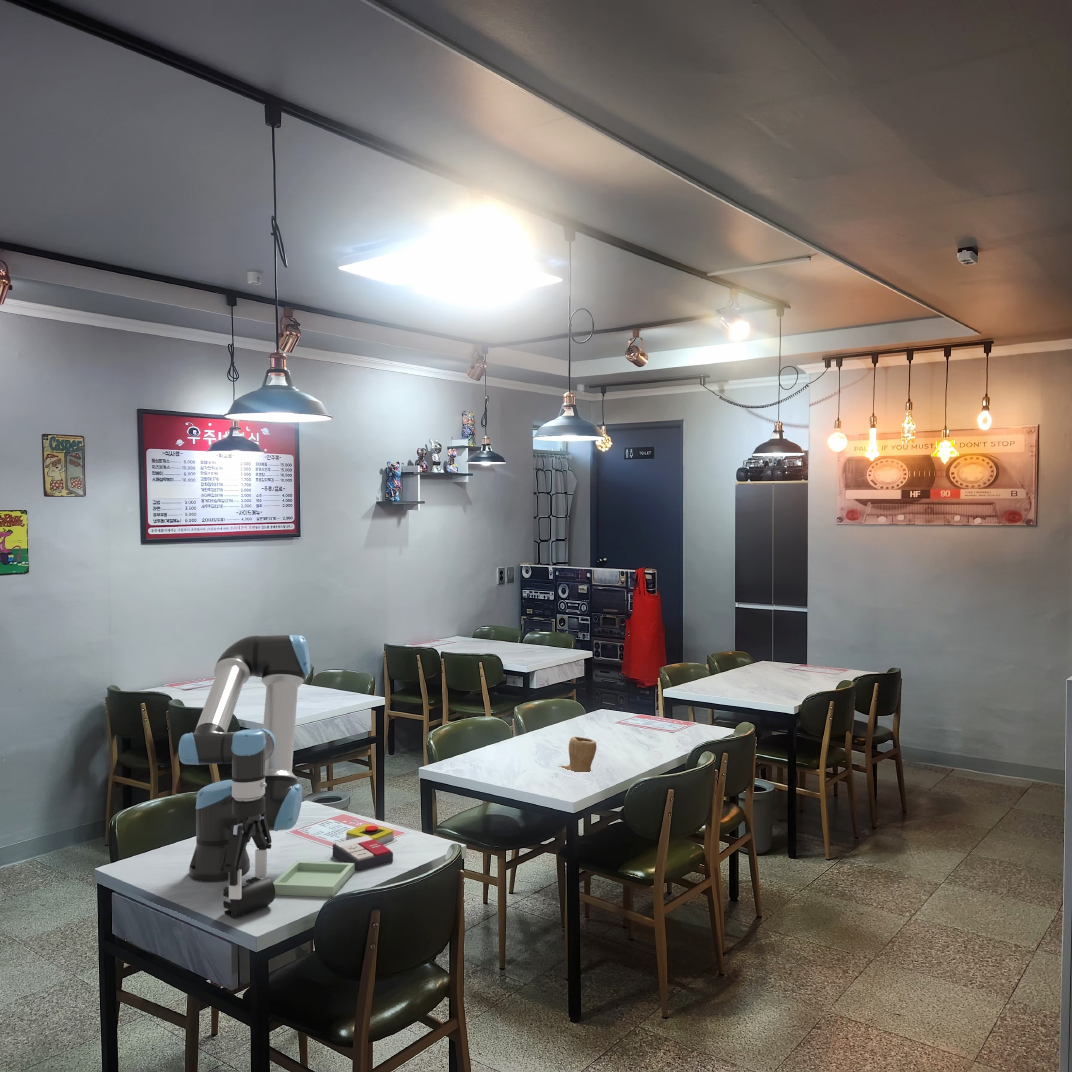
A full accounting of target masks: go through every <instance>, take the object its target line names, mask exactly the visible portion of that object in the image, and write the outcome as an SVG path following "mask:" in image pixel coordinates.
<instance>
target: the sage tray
mask: <svg viewBox="0 0 1072 1072" xmlns="http://www.w3.org/2000/svg"><path fill="white" fill-rule="evenodd" d="M355 872H356V870H355V865H354V863H343V862H333V861H331V862H330V861H329V862H328V861H309V860H307V861H305V860H303V861H301V860H296V861H295V862H293V864H291V865H290V866H288V868H286V870H285V871H284V872H283V873H281V875H279V876H278V877H277V878H276V879H275V880H274V881H272V882H273V884H274V886H275V896H276V895H277V896H283V895H284V896H301V897H302V896H303V897H320V898H321V897H323V898H325V897H326V898H334V897H335V896H336V894H337V893H339V891H340V890H341V889H342V888H343V886H344V885H346V883H347V882H348V881H349V879H350V878H351V877H352V876H353V875H354V874H355Z"/></svg>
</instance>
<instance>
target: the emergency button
mask: <svg viewBox="0 0 1072 1072" xmlns="http://www.w3.org/2000/svg"><path fill="white" fill-rule="evenodd" d="M363 836H368V837H370V838H372V839H374V840H376V841H377V842H379V843H380V844H382V845H383V846H385V847H386V846H389V845H391V844H393V843H395V842H397V841H398V839H397V838H395V837H394V830H393V829H390V828H385V827H381V826H377V825H374V824H369V823H366V824H362V825H360V826H359V827H355V828H352V829H350V830H347V831H346V835H345V837H342V838H341V839H340V840H341V842H342V841H346V840H350V839H354V838H358V837H363Z"/></svg>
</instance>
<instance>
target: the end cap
mask: <svg viewBox="0 0 1072 1072" xmlns="http://www.w3.org/2000/svg"><path fill="white" fill-rule="evenodd" d="M273 882H274V881H272V879H271V878H270V877H268V876H267V877H266V878H259V877H255V876H254V877H251V878H248V879H245V883H247V884H244V885H242V898H241V899H229V885H228V886H225V887H224V888H223V891H222V896H223V897H226V898H228V899H229V901H227V900H223V901H222V902H223V903H222V905H223V908H224V909H226V910H224V913H223V914H224V915H226V916H227V917H230V918H231V919H237V918H240V917H242V916H245V915H247V914H251V913H252V912H255V911H258V910H260V909H264V908H266V907H268V906H269V905H271V904H272V903H273V902H274V900H275V898H276V895H275V886H274V884H273Z"/></svg>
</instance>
